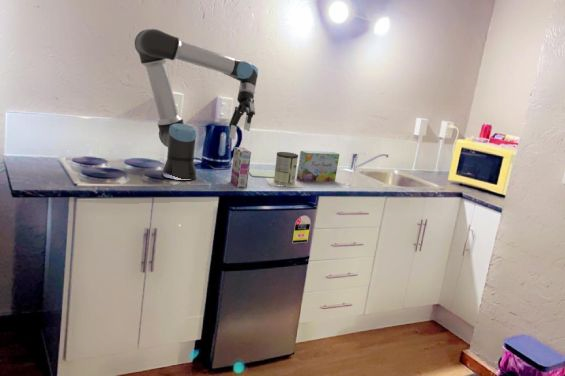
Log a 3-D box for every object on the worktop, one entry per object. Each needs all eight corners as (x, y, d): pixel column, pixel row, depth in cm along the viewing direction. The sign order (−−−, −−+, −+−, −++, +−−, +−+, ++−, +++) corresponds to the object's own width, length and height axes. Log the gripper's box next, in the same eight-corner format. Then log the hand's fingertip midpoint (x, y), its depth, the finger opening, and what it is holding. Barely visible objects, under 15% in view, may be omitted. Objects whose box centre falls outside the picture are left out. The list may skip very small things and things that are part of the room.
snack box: (302, 182, 245) (306, 152, 241) (296, 179, 249) (299, 150, 246) (335, 181, 256) (340, 153, 252) (329, 179, 260) (333, 151, 257)
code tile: (271, 185, 228) (271, 185, 228) (264, 178, 243) (264, 177, 243) (304, 187, 232) (304, 187, 232) (295, 179, 247) (295, 179, 247)
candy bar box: (247, 188, 217) (251, 151, 214) (236, 187, 216) (240, 151, 212) (240, 182, 228) (244, 147, 224) (230, 181, 226) (233, 146, 222)
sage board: (252, 176, 242) (252, 175, 242) (246, 169, 257) (246, 168, 257) (283, 178, 247) (283, 177, 246) (275, 171, 261) (275, 170, 261)
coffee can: (274, 178, 243) (278, 150, 240) (295, 181, 242) (299, 153, 239) (272, 183, 233) (275, 153, 230) (293, 186, 232) (297, 156, 229)
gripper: (266, 88, 228) (260, 129, 221) (239, 106, 247) (232, 144, 240) (253, 81, 224) (245, 123, 217) (226, 100, 244) (219, 138, 237)
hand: (239, 134), depth 229 cm, fingers open, 13 cm apart
